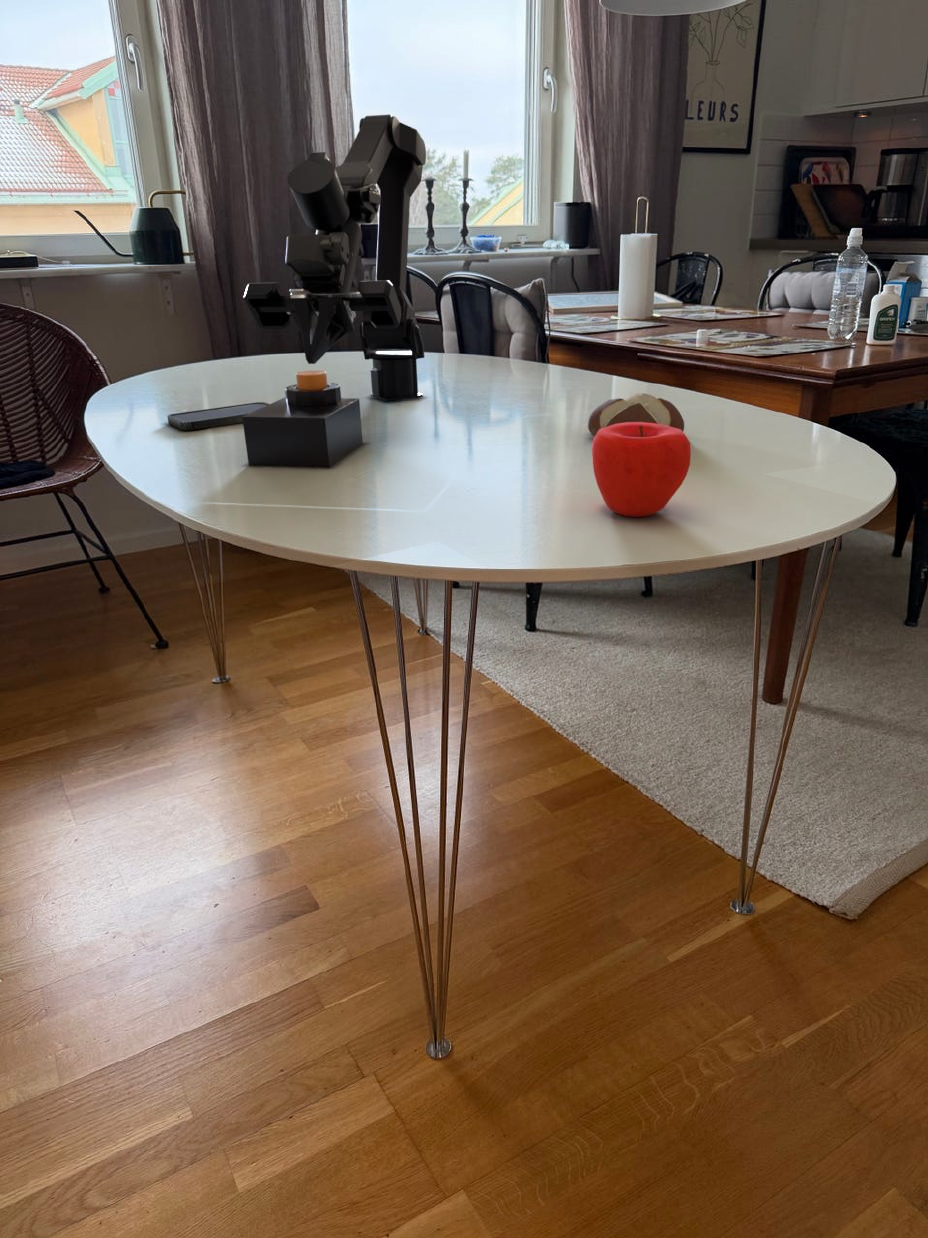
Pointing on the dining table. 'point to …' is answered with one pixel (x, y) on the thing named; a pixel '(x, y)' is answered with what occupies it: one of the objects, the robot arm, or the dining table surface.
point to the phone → (213, 416)
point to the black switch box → (304, 429)
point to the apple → (639, 466)
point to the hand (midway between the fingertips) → (310, 361)
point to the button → (311, 380)
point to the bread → (635, 412)
